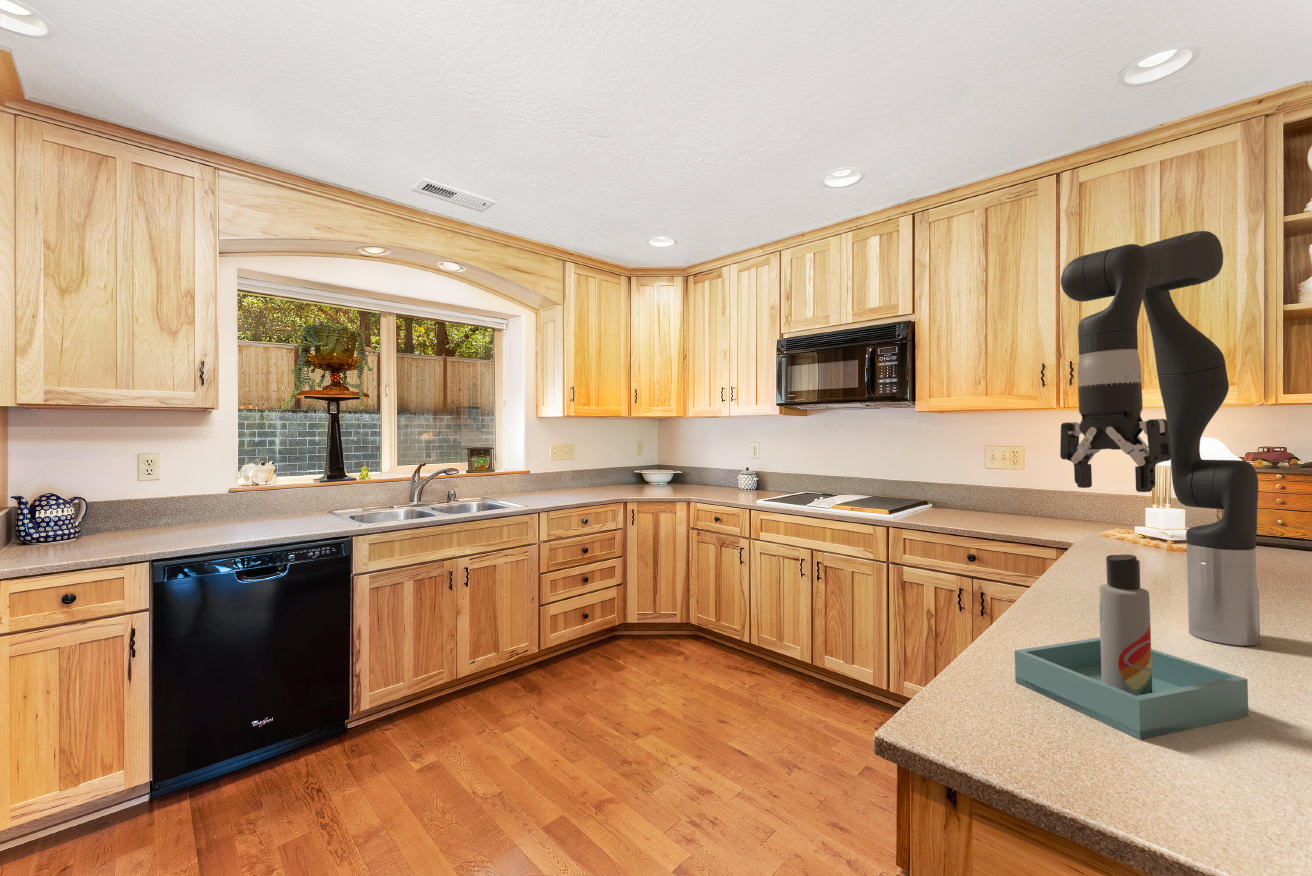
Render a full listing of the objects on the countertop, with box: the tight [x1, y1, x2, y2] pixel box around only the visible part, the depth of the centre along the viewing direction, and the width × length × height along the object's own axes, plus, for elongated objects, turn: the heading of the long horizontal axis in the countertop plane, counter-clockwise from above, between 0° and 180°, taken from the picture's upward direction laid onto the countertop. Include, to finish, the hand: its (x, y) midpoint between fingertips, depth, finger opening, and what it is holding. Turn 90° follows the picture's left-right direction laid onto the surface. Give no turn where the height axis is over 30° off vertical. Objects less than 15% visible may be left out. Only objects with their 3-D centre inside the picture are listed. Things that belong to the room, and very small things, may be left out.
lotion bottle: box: [1098, 554, 1152, 696], centre depth 82 cm, size 6×6×20 cm
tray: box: [1014, 637, 1249, 741], centre depth 83 cm, size 20×18×5 cm
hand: (1112, 489), depth 85 cm, fingers open, 8 cm apart
